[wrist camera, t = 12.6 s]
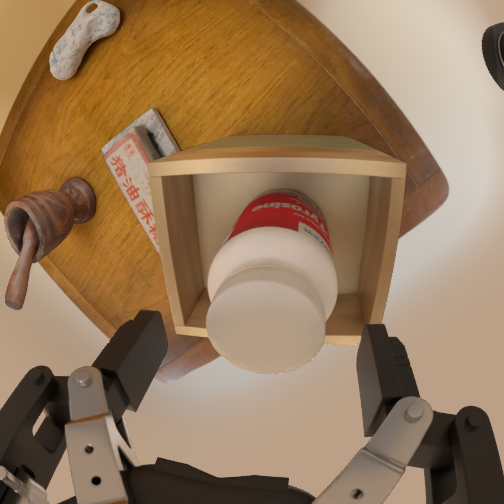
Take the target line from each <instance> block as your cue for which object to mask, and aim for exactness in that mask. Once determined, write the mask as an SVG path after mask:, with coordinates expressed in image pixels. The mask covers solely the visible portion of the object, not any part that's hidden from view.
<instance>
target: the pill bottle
mask: <svg viewBox="0 0 504 504" xmlns="http://www.w3.org/2000/svg"><path fill="white" fill-rule="evenodd" d="M337 293H338V284H337V275H336V268H335V263H334V258H333V252H332V247H331V243H330V237H329V233H328V228H327V224H326V221H325V218H324V216H323V214H322V212H321V210H320V209H319V207H318V206H317V205H316V204H315V203H314V202H313V201H312V200H311V199H309V198H308V197H306V196H304V195H303V194H300V193H298V192H295V191H291V190H272V191H268V192H265V193H263V194H261V195H259V196H257V197H256V198H254V199H253V200H252V201H251V202H250V203H249V204H248V205H247V206H246V207H245V209H244V210H243V212H242V213H241V215H240V216H239V218H238V220H237V221H236V223H235V224H234V226H233V228H232V229H231V231H230V232H229V234H228V236H227V237H226V239H225V241H224V243H223V244H222V246H221V247H220V249H219V251H218V252H217V254H216V255H215V258H214V260H213V262H212V265H211V267H210V270H209V275H208V294H209V298H210V301H211V305H210V307H209V309H208V312H207V316H206V329H207V334H208V337H209V339H210V341H211V343H212V345H213V346H214V348H215V349H216V350H217V352H218V353H219V354H220V355H221V356H222V357H224V358H225V359H226V360H228V361H229V362H231V363H232V364H234V365H236V366H238V367H240V368H242V369H245V370H248V371H252V372H256V373H263V374H278V373H285V372H289V371H293V370H295V369H298V368H300V367H302V366H304V365H306V364H307V363H308V362H310V361H311V360H312V359H313V358H314V357H315V356H316V355H317V353H318V352H319V351H320V349H321V347H322V345H323V342H324V339H325V323H326V321H327V319H328V318H329V316H330V315H331V313H332V311H333V308H334V306H335V303H336V300H337Z"/></svg>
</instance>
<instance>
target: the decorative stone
mask: <svg viewBox="0 0 504 504" xmlns="http://www.w3.org/2000/svg"><path fill="white" fill-rule="evenodd" d="M92 3H96V4H97V5H98V8H97V9H95V10H94V11H93V12H92V13H90V14H89V13H87V12H86V11H87V8H88V7H89V6H90V5H91V4H92ZM119 22H120V11H119V9H118V8H116V7H115V6H113V5H112V4H108V3H107V2H104V1H101V0H93V1H91V2H89V3H87V4H86V5H85V6H84V7H83V8H82V9H81V10H80V12H79V14H78V16H77V17H76V19H75V20H74V22H73V23H72V24H71V25H70V26H69V28H68V29H67V31H66V33H65V35H64V36H62V37H61V39H60V40H59V41H58V42H57V43H56V45H55V47H54V49H53V51H52V53H51V55H50V66H51V67H50V71H51V73H52V75H53V76H54V77H55V78H57V79H60V80H67V79H69V78H71V77H72V76H73V75H74V74H75V73H76V71H77V69H78V66H79V65H80V63H81V61H82V58H83V56H84V54H85V52H86V50H87V49H88V47H89V46H90V45H91V44H92V43H93V42H95V41H96V40H98V39H100V38H102V37H106V36H109V35H111V34H113V33H114V32H115V30H116V29H117V27H118V25H119Z"/></svg>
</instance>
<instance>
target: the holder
mask: <svg viewBox="0 0 504 504" xmlns="http://www.w3.org/2000/svg"><path fill="white" fill-rule="evenodd" d="M147 165H148V174H149V182H150V190H151V198H152V206H153V213H154V220H155V226H156V233H157V239H158V245H159V251H160V257H161V262H162V268H163V273H164V278H165V284H166V289H167V294H168V299H169V303H170V308H171V313H172V317H173V322H174V326H175V330H176V334H183V335H191V336H201V337H208V334H207V329H206V316H207V312H208V309H209V307H210V305H211V301H210V298H209V294H208V275H209V270H210V267H211V265H212V262H213V260H214V258H215V255H216V254H217V252H218V251H219V249H220V247H221V246H222V244H223V243H224V241H225V239H226V237H227V236H228V234H229V232H230V231H231V229H232V228H233V226H234V224H235V223H236V221H237V220H238V218H239V216H240V215H241V213H242V212H243V210H244V209H245V207H246V206H247V205H248V204H249V203H250V202H251V201H252V200H253V199H254V198H256V197H257V196H259V195H261V194H263V193H265V192H268V191H272V190H291V191H295V192H298V193H300V194H303V195H304V196H306V197H308V198H309V199H311V200H312V201H313V202H314V203H315V204H316V205H317V206H318V207H319V209H320V210H321V212H322V214H323V216H324V218H325V221H326V224H327V228H328V233H329V237H330V243H331V247H332V252H333V258H334V263H335V268H336V275H337V284H338V293H337V300H336V303H335V306H334V308H333V311H332V313H331V315H330V316H329V318H328V319H327V321H326V323H325V339H324V342H323V344H333V345H337V344H339V345H355V344H357V345H360V341H361V336H362V332H363V327H364V325H365V324H381V323H382V319H383V315H384V310H385V306H386V302H387V297H388V293H389V288H390V283H391V278H392V273H393V267H394V262H395V256H396V250H397V243H398V238H399V231H400V224H401V216H402V208H403V199H404V189H405V178H406V166H407V164H406V163H404V162H402V161H400V160H398V159H396V158H393V157H391V156H389V155H387V154H385V153H383V152H380V151H374V150H361V149H345V148H323V147H233V148H212V149H195V150H183V151H180V152H177V153H174V154H171V155H168V156H166V157H163V158H160V159H157V160H154V161H152V162H149V163H148V164H147Z"/></svg>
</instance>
